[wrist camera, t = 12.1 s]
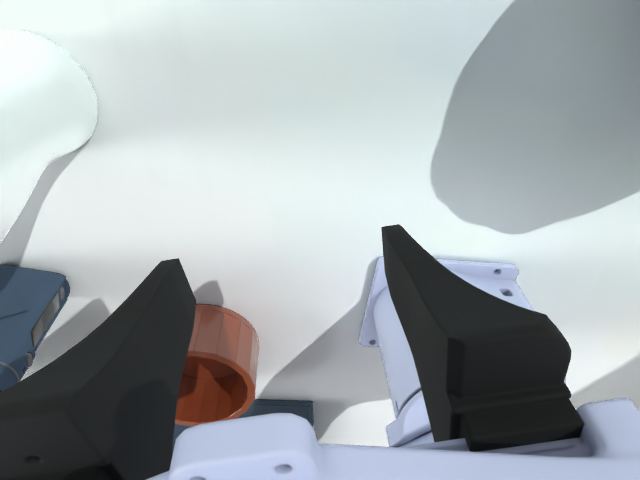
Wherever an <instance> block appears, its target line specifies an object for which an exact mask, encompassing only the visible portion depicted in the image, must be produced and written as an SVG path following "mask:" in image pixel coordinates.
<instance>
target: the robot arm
mask: <svg viewBox="0 0 640 480" xmlns="http://www.w3.org/2000/svg"><path fill="white" fill-rule="evenodd" d="M382 241H383V255H384V256H382V257H380V258H379V259H378V261H377V265H376V269H375V273H374V277H373V282H372V286H371V290H370V294H369V298H368V302H367V307H366V311H365V315H364V319H363V323H362V327H361V332H360V336H359V343H360V345H362V346H368V347H380V350H381V354H382V359H383V363H384V368H385V372H386V377H387V381H388V386H389V391H390V395H391V400H392V404H393V409H394V413H395V418H396V420H395V421H394V422H392V423H391V424H389V425H387V426H386V432H387V437H388V442H389V447H379V446H360V445H342V444H324V443H318V441H317V439H316V435H315V431H314V428H313V427H312V426H311V424H310V423H309V422H308V421H307V420H306V419H305V418H302V417H300V416H297V415H294V414H292V413H272V414H266V415H259V416H252V417H245V418H238V419H231V420H224V421H217V422H211V423H204V424H199V425H196V426H193V427H190V428H187V429H185V430H184V431H183V432H182V433H181V434H180V435H179V436H178V437H177V438H176V442H175V446H174V451H173V456H172V449H173V437H174V427H175V417H176V409H177V401H178V393H179V387H180V382H181V378H182V373H183V369H184V365H185V361H186V357H187V353H188V349H189V345H190V341H191V336H192V332H193V327H194V320H195V308H196V300H195V297H194V295H193V292H192V290H191V287H190V285H189V283H188V280H187V278H186V275H185V273H184V270H183V268H182V265H181V263H180V261H179V258H178V259H171V260H165V261H161V262H160V263H159V264H158V265H157V266H156V267H155V268H154V270H153V271H152V272H151V273H150V274H149V275H148V276H147V277H146V279H145V280H144V281H143V282H142V283H141V284H140V285H139V286H138V287H137V289H136V290H135V291H134V292H133V293H132V294H131V295H130V296H129V297H128V298H127V299H126V300H125V301H124V302H123V303H122V304H121V305H120V306H119V307H118V308H117V309H116V310H115V311H114V312H113V313H112V314H111V315H110V316H109V317H108V318H107V319H106V320H105V321H104V322H103V323H102V324H101V325H100V326H99V327H97V328H96V329H95V330H94V331H93V332H92V333H90V334H89V335H88V336H87V337H86V338H84V339H83V340H82V341H81V342H79V343H78V344H76V345H75V346H74V347H72V348H71V349H70V350H68V351H67V352H66V353H64V354H63V355H61V356H60V357H59V358H57V359H56V360H54V361H53V362H51V363H50V364H48V365H47V366H45V367H44V368H42V369H40V370H39V371H37V372H35V373H34V374H32V375H31V376H29V377H27V378H25V379H24V380H22V381H20V382H18V383H16V384H15V385H13V386H11V387H9V388H7V389H5V390H4V391H2V392H0V480H640V412H639V411H638V409H637V408H636V406H635V405H634V404H633V402H632V401H631V400H630V399H629V398H619V399H612V400H605V401H598V402H591V403H587V404H584V405H582V406H580V407H579V408H578V409H577V410H575V408H574V406H573V405H572V403H571V401H570V400H569V398H570V397H571V393H570V391H569V389H568V387H567V386H566V373H567V370H568V366H569V363H570V359H571V349H570V346H569V344H568V342H567V341H566V339H565V338H564V336H563V335H562V333H561V332H560V331H559V330H558V328H557V327H556V326H555V325H554V324H553V322H552V321H551V320H550V319H549V318H548V317H547V315H545V314H542V313H539V312H535V310H534V309H533V307H532V306H531V304H530V303H529V301H528V300H527V298H526V297H525V295H524V294H523V292H522V291H521V289H520V288H519V286H518V285H517V283H516V281H515V279H516V277H517V275H518V273H519V270H518V268H517V267H516V266H515V265H513V264H503V263H488V262H474V261H459V260H445V259H435V258H433V257H432V256H431V255H430V254H429V253H428V252H427V251H426V250H424V249H423V248H422V247H421V246H420V245H419V244H418V243H417V242H416V241H415V240H414V239H413V238H412V237H411V236H410V235H409V234H408V233H407V232H406V231H405V229H404V228H403V227H402V226H400V225H399V224H398V225H392V226H385V227H382ZM496 269H498V271H496V272H494V271H495V270H496ZM371 340H374V341H371Z"/></svg>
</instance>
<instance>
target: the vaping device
mask: <svg viewBox="0 0 640 480" xmlns="http://www.w3.org/2000/svg"><path fill="white" fill-rule="evenodd" d="M65 278H66V277H65V276H64V275H62V274H59V273H54V272H48V271H41V270H35V269H28V268H22V267H15V266H9V265H0V392H2V391H4V390H5V389H7V388H9V387H11V386H13V385H15V384H16V383H18V382H20V380H21V378H22V377H23V375H24V374H25V372H26V370H27V369H28V367H30V366H31V365H32V361H33V359H34V357H35V351H36V349H37V348H38V346H39V345H40V343H41V341H42V340H43V338H44V337H45V335H46V333H47V332H48V330H49V329H50V327H51V325H52V324H53V322H54V320H55V319H56V317H57V316H58V314H59V312H60V311H61V309H62V308H63V306H64V304H65V303H66V301H67V300H68V299H66V298H67V297H68V295H69V293H70V287H69V283H68V281H67V280H66V279H65Z"/></svg>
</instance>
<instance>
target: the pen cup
mask: <svg viewBox="0 0 640 480" xmlns="http://www.w3.org/2000/svg"><path fill="white" fill-rule="evenodd" d="M258 349H259V341H258V337H257V334H256V332H255V330H254V328H253V327H252V326H251V324H250V323H249V322H248V321H247V320H246V319H244V318H243V317H242V316H240V315H239V314H237V313H235V312H233V311H231V310H229V309H226V308H223V307H219V306H214V305H206V304H196V308H195V320H194V327H193V332H192V336H191V341H190V345H189V349H188V353H187V357H186V361H185V365H184V369H183V373H182V378H181V382H180V387H179V393H178V401H177V409H176V417H175V424H178V425H184V426H192V427H193V426H196V425H199V424H204V423H211V422H217V421H224V420H231V419H236V418H238V417H239V416H241V415H242V414H244V413H245V412H246V411H247V410H248V409H249V407H250V406H251V404H252V403H253V401H254V399H255V388H256V376H257V363H258Z"/></svg>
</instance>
